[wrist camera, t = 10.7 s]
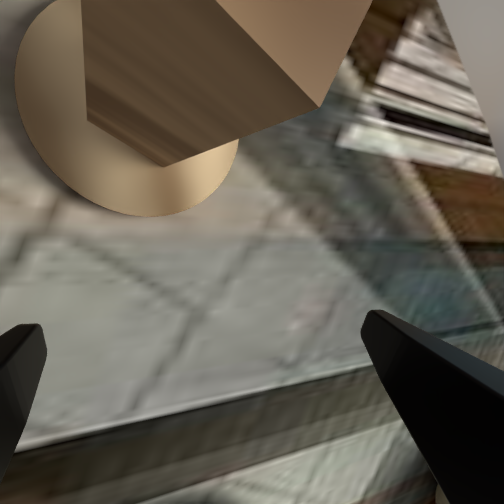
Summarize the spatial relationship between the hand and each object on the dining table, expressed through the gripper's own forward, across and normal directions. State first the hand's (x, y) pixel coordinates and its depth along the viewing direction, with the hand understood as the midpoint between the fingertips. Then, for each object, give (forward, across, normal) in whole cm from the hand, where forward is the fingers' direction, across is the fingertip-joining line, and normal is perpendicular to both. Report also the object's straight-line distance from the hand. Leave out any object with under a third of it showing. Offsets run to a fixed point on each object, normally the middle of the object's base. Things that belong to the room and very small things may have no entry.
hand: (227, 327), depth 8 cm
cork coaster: (+14, +3, -4) cm, 15 cm away
